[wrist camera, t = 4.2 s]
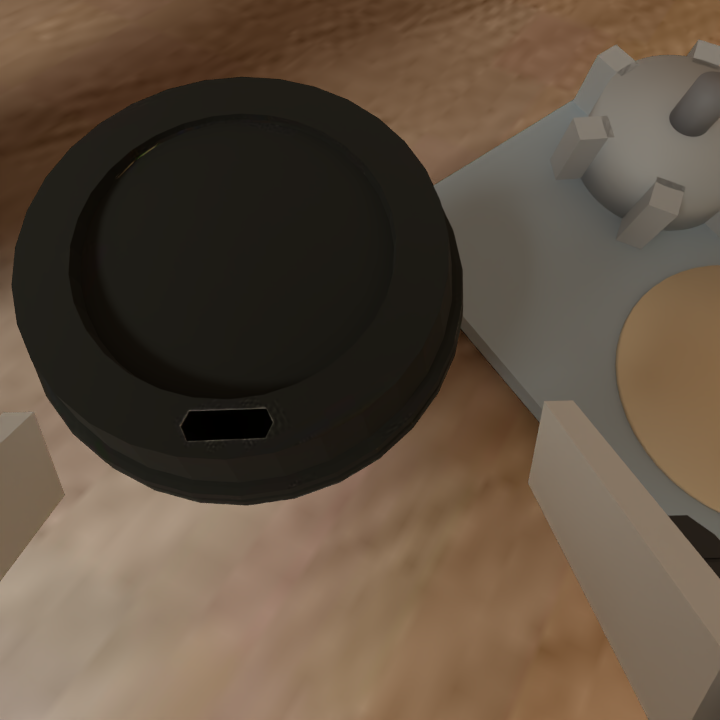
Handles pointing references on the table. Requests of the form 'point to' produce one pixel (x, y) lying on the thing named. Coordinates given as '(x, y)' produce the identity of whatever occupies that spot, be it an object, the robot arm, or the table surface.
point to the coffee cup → (239, 290)
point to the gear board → (609, 266)
